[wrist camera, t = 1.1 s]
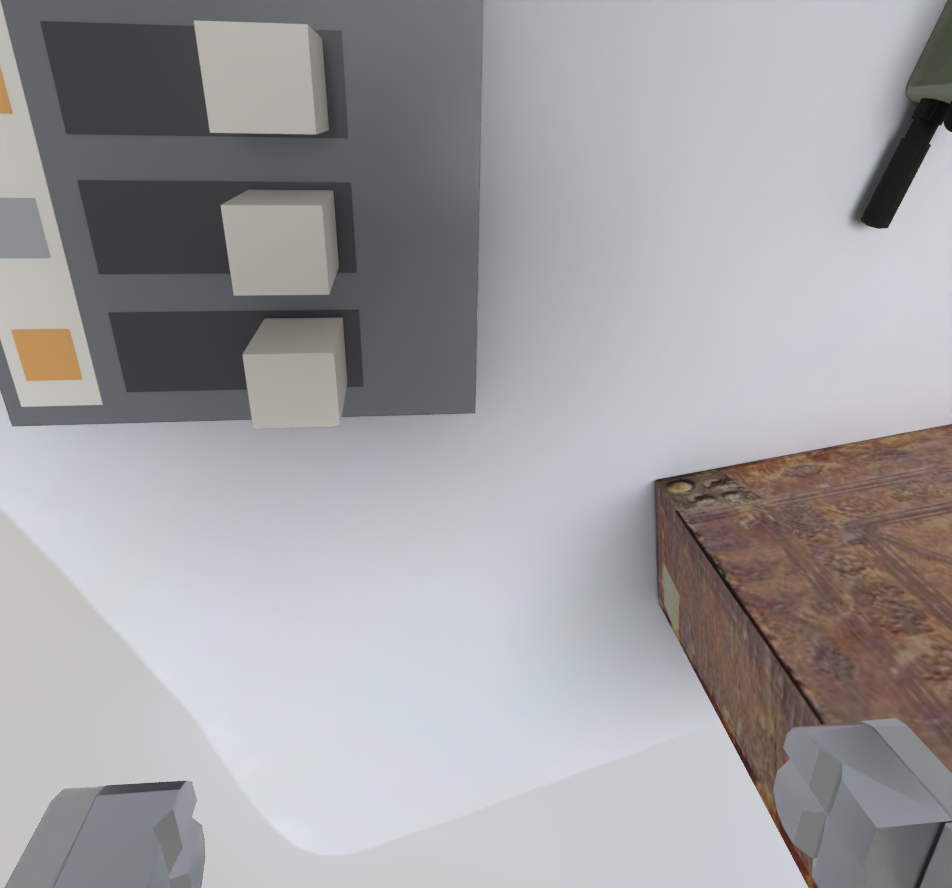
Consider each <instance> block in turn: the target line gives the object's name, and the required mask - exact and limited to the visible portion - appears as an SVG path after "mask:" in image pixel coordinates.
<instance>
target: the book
mask: <svg viewBox="0 0 952 888" xmlns="http://www.w3.org/2000/svg"><path fill="white" fill-rule="evenodd" d="M656 505H657V545H658V585H659V605H660V606H661V608H662V610H663V612H664V614H665V616H666V618H667V620H668V622H669V624H670V625H671V627H672V629H673V631H674V633H675V635H676V637H677V639H678V641H679V642H680V644H681V646H682V648H683V650H684V652H685V654H686V656H687V658H688V660H689V661H690V663H691V665H692V667H693V669H694V671H695V673H696V675H697V677H698V679H699V680H700V682H701V684H702V686H703V688H704V690H705V692H706V694H707V696H708V698H709V699H710V701H711V703H712V705H713V707H714V709H715V711H716V713H717V715H718V717H719V718H720V720H721V722H722V724H723V726H724V728H725V730H726V731H727V734H728V735H729V737H730V739H731V741H732V743H733V745H734V747H735V749H736V751H737V753H738V754H739V756H740V758H741V760H742V762H743V763H744V766H745V768H746V770H747V771H748V773H749V775H750V777H751V779H752V781H753V783H754V785H755V786H756V789H757V791H758V792H759V794H760V796H761V798H762V800H763V802H764V804H765V806H766V808H767V809H768V811H769V813H770V815H771V817H772V819H773V821H774V823H775V825H776V827H777V828H778V830H779V832H780V834H781V836H782V838H783V840H784V842H785V844H786V846H787V847H788V849H789V851H790V853H791V855H792V857H793V859H794V861H795V863H796V865H797V866H798V868H799V870H800V872H801V874H802V876H803V878H804V880H805V882H806V884H807V885H808V887H809V888H819V887H818V885H817V884H816V882H815V880H814V879H813V877H812V868H813V858H811V857H810V856H809V855H807V854H806V853H804V852H803V851H802V850H800V849H799V848H798V847H796V846H795V845H793V843H792V841H791V840H790V838H789V836H788V834H787V833H786V831H785V829H784V827H783V825H782V823H781V820H780V817H779V815H778V812H777V809H776V803H775V796H774V784H775V779H776V774H777V771H778V770H779V769H780V768H781V767H782V766H783V765H784V764H785V763H786V762H787V761H788V760H789V759H790V757H789V756H788V754H787V753H786V751H785V750H784V748H783V746H784V743H785V739H786V736H787V734H788V733H789V732H790V731H791V730H792V729H793V728H794V727H803V726H813V725H823V724H833V723H843V722H853V721H856V722H860V721H869V720H880V719H891V718H896V719H897V720H899V721H901V722H903V723H905V724H906V725H907V726H908V727H909V728H910V729H911V730H912V731H913V732H914V733H915V734H916V736H917V737H918V738H919V739H920V740H921V741H922V742H923V743H924V744H925V745H926V746H927V747H928V748H929V750H930V751H931V752H932V753H933V754H934V755H935V756H936V757H937V758H938V759H939V760H940V761H941V762H942V764H943V765H944V766H945V767H946V768H947V769H948V770H949V771H950V772H951V773H952V424H951V425H946V426H940V427H935V428H930V429H925V430H919V431H914V432H909V433H903V434H898V435H893V436H888V437H882V438H877V439H872V440H866V441H861V442H856V443H851V444H845V445H840V446H835V447H830V448H824V449H819V450H814V451H808V452H803V453H798V454H793V455H787V456H782V457H777V458H772V459H766V460H761V461H756V462H750V463H745V464H740V465H735V466H729V467H724V468H719V469H714V470H708V471H703V472H698V473H692V474H687V475H682V476H677V477H671V478H666V479H661V480H656Z"/></svg>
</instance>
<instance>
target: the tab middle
mask: <svg viewBox="0 0 952 888" xmlns="http://www.w3.org/2000/svg"><path fill="white" fill-rule="evenodd" d="M221 212H222V219H223V225H224V232H225V239H226V246H227V253H228V260H229V267H230V273H231V280H232V287H233V294H234V296H248V295H329V294H330V291H331V288H332V285H333V283H334V280H335V277H336V274H337V271H338V268H339V261H338V247H337V233H336V220H335V206H334V192H333V190H247V191H245V192H243V193H241V194H240V195H238V196H236V197H234V198H232V199H231V200H229V201H227V202H225V203H223V204H222V205H221Z"/></svg>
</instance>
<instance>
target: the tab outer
mask: <svg viewBox="0 0 952 888" xmlns="http://www.w3.org/2000/svg"><path fill="white" fill-rule="evenodd" d="M242 356H243V362H244V369H245V376H246V383H247V390H248V397H249V404H250V410H251V417H252V424H253V429H271V428H305V427H339V426H340V423H341V417H342V412H343V406H344V400H345V394H346V388H347V370H346V356H345V342H344V329H343V317H341V318H265V319H264V320H263V322H262V323H261V325H260V327H259V328H258V330H257V332H256V333H255V335H254V336H253V338H252V340H251V341H250V343H249V345H248V346H247V348H246V349H245V351H244V353H243V354H242Z"/></svg>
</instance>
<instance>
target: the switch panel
mask: <svg viewBox="0 0 952 888" xmlns="http://www.w3.org/2000/svg"><path fill="white" fill-rule="evenodd" d="M194 20H196V21H226V22H256V23H287V24H308V25H309V26H310V27H311V28H312V29H313V30H314V31H315V32H316V33H317V34H318V35H319V36H320V37H321V38H322V42H323V56H324V69H325V83H326V97H327V110H328V124H329V130H328V131H325V132H322V133H319V134H253V133H210V129H209V123H208V116H207V109H206V102H205V95H204V88H203V82H202V75H201V68H200V61H199V54H198V47H197V40H196V34H195V27H194ZM482 31H483V0H0V390H1V393H2V396H3V399H4V403H5V406H6V409H7V412H8V415H9V418H10V421H11V424H12V426H42V425H77V424H112V423H147V422H183V421H218V420H252V417H251V410H250V404H249V397H248V390H247V383H246V376H245V369H244V362H243V356H242V354H243V353H244V351H245V349H246V348H247V346H248V345H249V343H250V341H251V340H252V338H253V336H254V335H255V333H256V332H257V330H258V328H259V327H260V325H261V323H262V322H263V320H264V319H265V318H341V317H343V329H344V342H345V356H346V370H347V388H346V394H345V400H344V406H343V412H342V417H359V416H395V415H430V414H465V413H475V398H476V346H477V293H478V241H479V188H480V136H481V84H482ZM247 190H333V192H334V206H335V220H336V233H337V247H338V261H339V268H338V271H337V274H336V277H335V280H334V283H333V285H332V288H331V291H330V294H329V295H248V296H234V294H233V287H232V280H231V273H230V267H229V260H228V253H227V246H226V239H225V232H224V225H223V219H222V212H221V205H222V204H223V203H225V202H227V201H229V200H231V199H232V198H234V197H236V196H238V195H240V194H241V193H243V192H245V191H247Z"/></svg>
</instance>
